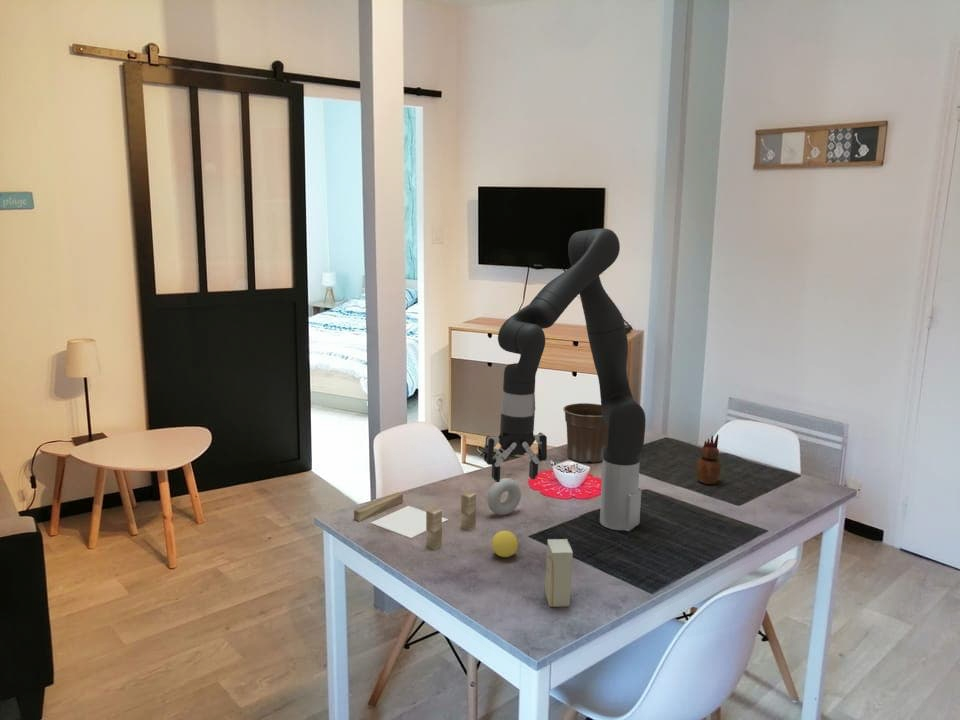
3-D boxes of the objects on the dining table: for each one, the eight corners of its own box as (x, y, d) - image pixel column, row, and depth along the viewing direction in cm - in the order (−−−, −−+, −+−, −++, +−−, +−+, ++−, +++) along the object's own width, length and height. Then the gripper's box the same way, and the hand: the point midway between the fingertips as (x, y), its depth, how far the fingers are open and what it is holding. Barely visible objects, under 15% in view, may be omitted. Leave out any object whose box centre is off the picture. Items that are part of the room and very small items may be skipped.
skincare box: (544, 592, 158) (546, 538, 156) (565, 591, 158) (567, 538, 156) (549, 608, 152) (551, 552, 149) (571, 607, 152) (573, 551, 150)
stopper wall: (402, 502, 204) (402, 493, 204) (359, 521, 192) (359, 512, 191) (397, 500, 205) (397, 492, 205) (354, 519, 193) (353, 510, 192)
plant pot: (576, 446, 254) (578, 399, 250) (620, 455, 245) (623, 407, 241) (552, 458, 241) (554, 410, 237) (598, 469, 232) (600, 419, 228)
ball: (522, 554, 175) (523, 530, 173) (507, 564, 170) (508, 539, 169) (501, 547, 178) (502, 524, 177) (486, 556, 174) (486, 532, 172)
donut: (491, 520, 193) (492, 484, 191) (484, 516, 196) (484, 480, 194) (523, 512, 198) (524, 477, 196) (515, 508, 201) (516, 473, 199)
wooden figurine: (721, 481, 222) (725, 433, 219) (716, 487, 218) (720, 438, 214) (698, 477, 226) (702, 429, 223) (693, 483, 221) (696, 434, 218)
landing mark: (448, 520, 193) (448, 519, 193) (411, 538, 182) (411, 537, 182) (408, 506, 202) (408, 505, 202) (370, 523, 191) (370, 522, 191)
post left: (441, 545, 179) (441, 510, 177) (434, 549, 177) (434, 513, 175) (433, 542, 180) (433, 507, 178) (426, 546, 178) (426, 511, 176)
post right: (475, 527, 189) (476, 494, 187) (469, 531, 187) (469, 497, 185) (467, 524, 190) (467, 491, 189) (461, 528, 188) (461, 494, 187)
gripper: (541, 404, 172) (537, 471, 176) (482, 407, 168) (479, 476, 172) (554, 414, 165) (549, 483, 169) (492, 417, 161) (489, 488, 165)
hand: (514, 479), depth 170 cm, fingers open, 8 cm apart
